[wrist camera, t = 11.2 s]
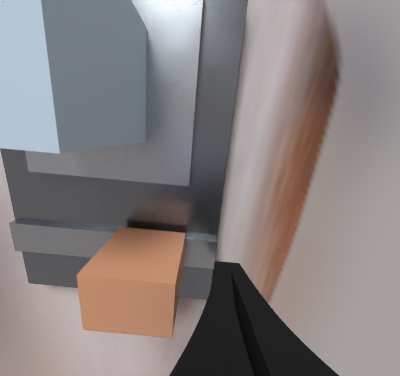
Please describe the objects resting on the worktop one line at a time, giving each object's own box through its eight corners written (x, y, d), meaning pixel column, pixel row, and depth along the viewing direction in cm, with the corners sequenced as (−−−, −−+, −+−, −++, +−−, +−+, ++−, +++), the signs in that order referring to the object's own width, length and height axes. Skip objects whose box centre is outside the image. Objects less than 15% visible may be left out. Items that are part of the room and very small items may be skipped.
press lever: (182, 273, 12) (171, 338, 8) (121, 267, 12) (83, 330, 8) (185, 232, 11) (175, 284, 7) (120, 226, 11) (76, 274, 7)
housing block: (145, 141, 10) (59, 153, 4) (69, 134, 10) (-126, 136, 4) (146, 27, 8) (14, -212, 3) (57, 19, 8) (-274, -239, 3)
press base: (208, 286, 14) (209, 307, 13) (42, 271, 14) (20, 289, 13) (244, 1, 9) (253, -29, 8) (-11, -23, 9) (-60, -58, 8)
